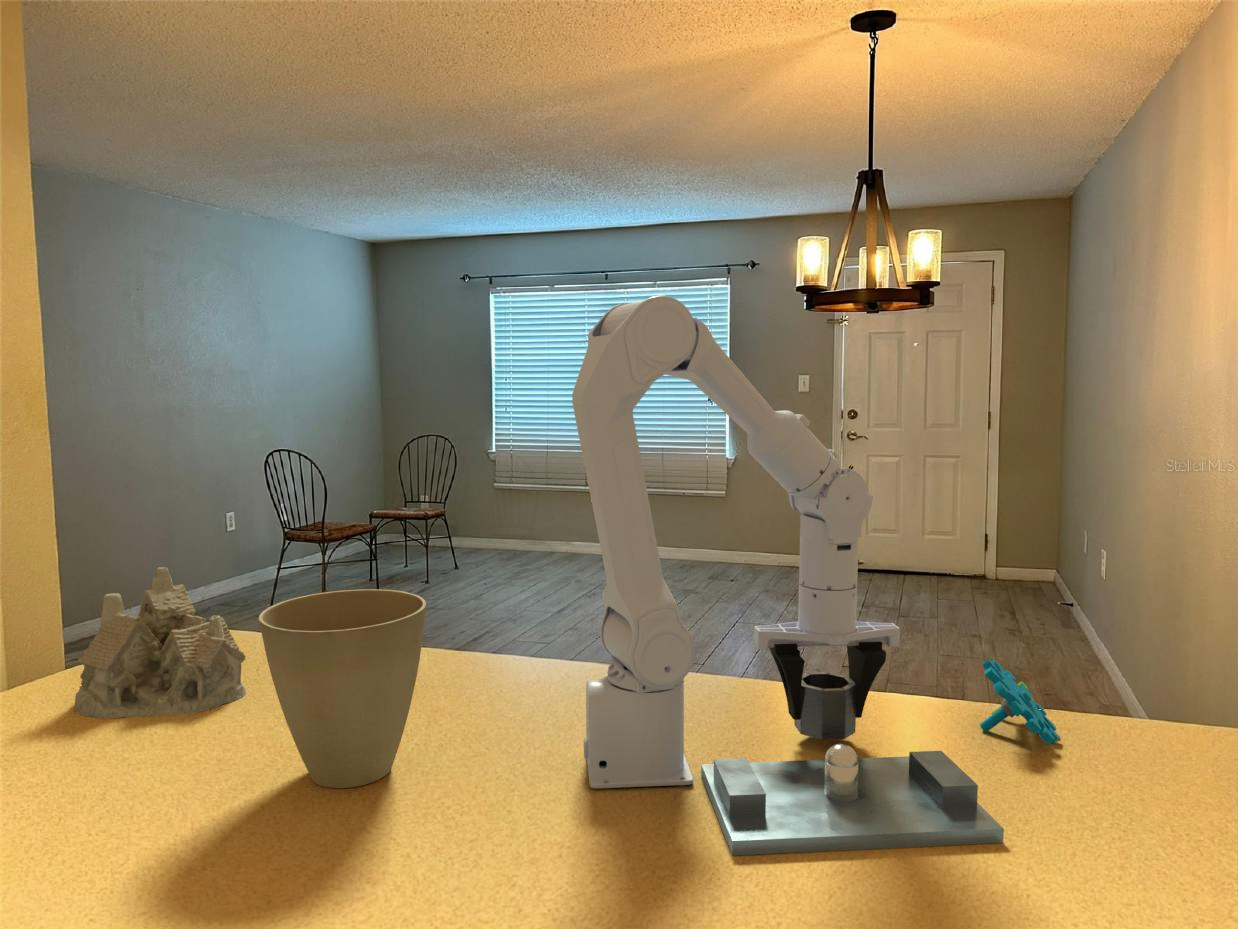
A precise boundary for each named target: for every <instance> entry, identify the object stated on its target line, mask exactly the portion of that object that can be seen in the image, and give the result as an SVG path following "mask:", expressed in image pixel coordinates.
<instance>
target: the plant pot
mask: <svg viewBox="0 0 1238 929" xmlns="http://www.w3.org/2000/svg"><path fill="white" fill-rule="evenodd" d="M426 607H427V602H426V600H425V599H424V598H423V597H422V596H420V595H418V594H414V593H411V592H407V591H403V590H394V589H373V588H372V589H370V588H369V589H367V588H364V589H363V588H362V589H361V588H360V589H347V590H335V591H327V592H319V593H313V594H308V595H303V596H298V597H294V598H290V599H287V600H284V601H280V602H278V603H276V604H273V605H271V606H269V607H267V608H266V609H264V610H262V612H261V613H260V614H259V616H258V622H259V626H260V627H259V628H260V632H261V637H262V642H263V646H264V652H265V655H266V661H267V664H268V668H269V672H270V675H271V679H272V683H273V686H274V690H275V692H276V695H277V698H278V701H279V706H280V707H281V711H282V713H283V716H284V720H285V722H286V724H287V727H288V730H289V732H290V734H291V736H292V739H293V742H294V743H295V744H294V745H295V746H296V749H297V751H298V753H299V755H300V757H301V759H302V762H303V764H304V766H305V769H306V770H307V772H308V774H309V776H310V778H311V780H312V781H313V782H314V783H315V784H317V785H318V786H321V787H325V788H329V789H349V788H356V787H362V786H365V785H369V784H372V783H374V782H376V781H378V780H380V779H382V778H384V777H385V776H387V775H388V773H390V771H392V768H393V765H394V762H395V760H396V756H397V753H398V750H399V748H400V744H401V740H402V739H403V738H402V737H403V734H404V731H405V727H406V724H407V720H408V716H409V713H410V709H411V703H412V701H413V699H412V698H413V696H414V690H415V686H416V681H417V676H418V672H419V666H420V660H421V652H422V645H423V638H424V637H423V636H424V630H425V629H424V628H425V619H426V609H427V608H426Z"/></svg>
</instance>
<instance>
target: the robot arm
mask: <svg viewBox="0 0 1238 929" xmlns="http://www.w3.org/2000/svg"><path fill="white" fill-rule="evenodd" d="M580 366H581V367H580V370H579V373H578V376H577V379H576V382H575V385H574V386H573V391H572V394H571V398H572V399H571V401H572V408H573V413H574V417H575V423H576V428H577V434H578V437H579V443H580V448H581V453H582V458H583V460H582V461H583V465H584V468H585V474H586V480H587V486H588V490H589V494H590V500H591V506H592V509H593V515H594V520H595V526H596V532H597V536H598V540H599V542H598V543H599V546H600V550H601V556H602V557H601V558H602V561H603V562H602V563H603V566H604V567H603V568H604V571H605V577H606V585H605V587H604V589H603V591H602V593H601V599H602V604H603V614H602V618H601V622H600V626H599V638H600V642H601V645H602V647H603V649H604V650H605V651H606V653H607V654H608V655H609V656H610V662H609V665H608V668H607V672H606V673H607V676H604V677H602V678H595V679H589V680H586V684H585V687H586V688H585V689H586V691H585V701H586V702H585V706H586V707H585V710H586V712H585V713H586V714H585V717H586V718H585V721H586V722H585V723H586V725H585V726H586V727H585V728H586V730H585V731H586V732H585V733H586V735H585V736H586V738H584V739H583V758H584V759H586V764H587V773H588V774H587V775H588V782H589V787H590V788H592V789H614V788H615V789H617V788H639V787H641V788H642V787H643V788H644V787H664V786H669V787H670V786H687V785H692V784H694V776H693V774H692V771H691V769H690V766H689V763H688V761H687V758H686V755H685V753H684V752H685V750H684V749H685V748H684V746H685V743H684V740H685V738H684V737H685V736H684V735H685V728H684V727H685V724H684V723H685V678H686V677H687V675H688V674H689V673H690V671H691V669H692V667H693V664H694V662H695V658H696V644H695V640H694V637H693V636H692V634H691V632H690V630H688V628H687V627H686V626H685V625H684V623H683V622H682V619H681V616H680V612H679V608H678V603H677V602H676V600H675V598H674V596H673V594H672V592H671V590H670V589H669V586H668V584H667V583H666V581H665V579H664V575H663V570H662V565H661V560H660V559H661V558H660V554H659V548H658V542H657V537H656V532H655V527H654V521H653V516H652V511H651V510H652V509H651V505H650V500H649V495H648V494H649V493H648V489H647V483H646V478H645V472H644V467H643V461H642V455H641V451H640V444H639V440H638V435H637V429H636V423H635V418H634V409H635V408H636V406H637V405H638V403H640V401H641V400H642V398H643V397H644V395H646V393H647V391H648V390H649V389H651V387H652V385H653V384H654V382H656V381H657V380H659V379H660V378H662V377H663V376H665V375H666V376H670V377H675V378H678V379H679V378H680V379H684V380H688V381H690V382H692V383H693V385H694V386H696V387H697V388H698V390H700V391H701V392H702V393H703V394H705V395H706V396H707V398H709V399H710V400H711V401H712V402H713V403H714V404H715V405H716V406H718V408H719V409H721V410H722V412H724V413H725V414H726V415H727V416H728V417H729V418H730V419H731V420H733V422H734V423H735V424H737V425H738V426H739V427H740V428H741V429H742V430H743V431H744V432H745V433H746V434H747V443H746V444H747V446H746V447H747V452H748V453H749V455H750V456H752V458H753V459H754V460H756V462H757V463H758V464H759V465H760V466H761V467H762V468H763V469H764V470H765V472H767V473H768V474H769V475H770V476H771V477H772V478H773V479H774V480H775V481H776V482H777V483H778V484H779V485H780V486H781V487H782V488H783V489H784V490H785V491H786V492H787V493H788V494H787V495H788V501H789V505H790V507H791V508H792V510H793V511H795V512H797V513H799V514H800V516H799V518H800V521H799V524H800V525H799V526H800V527H799V565H798V566H799V568H798V569H799V570H798V573H799V574H798V611H797V612H798V614H797V616H798V619H797V620H798V621H791V622H790V621H789V622H784V623H775V624H768V625H754V627H753V645H754V646H755V648H757V650H759V651H763V650H765V651H766V650H769V651H770V654H771V656H772V659H773V660H774V663H775V665H776V667H777V670H778V672H779V675H780V678H781V681H782V685H783V688H784V691H785V698H786V702H787V708H788V709H787V710H788V713H789V715H790V717H791V718H792V720H793V721H794V720H800V719H801V684H802V675H803V674H804V667H805V664H806V663H805V662H806V661H805V660H804V659H803V657H802V656H801V650H799V648H801V647H802V648H804V647H805V648H806V647H812V648H813V647H846V651H847V660H848V662H847V663H848V677H849V678H851V679H852V680H853V681H854V682H855V683H856V719H859V718H862V716H863V711H864V708H865V704H866V701H867V698H868V695H869V692H870V690H871V687H872V685H873V682H874V681H875V679H876V677H877V675H878V674H879V672H880V670H881V669H882V667H883V666H884V665H885V663H886V661H887V660H886V659H887V652H886V650H885V649H883V646H886V645H887V646H888V647H890V648H893V647H898V648H899V647H900V644H901V643H900V640H901V639H900V638H901V628H900V627H899V626H897V625H896V624H895V623H893V622H873V621H857V603H858V602H857V599H858V571H859V570H858V568H859V563H858V562H859V539H860V538H861V537H862V527H863V523H864V520H866V517H867V516H868V515H869V513H870V511H871V509H872V505H873V501H874V496H873V495H871V494H869V490H868V487H867V484H866V481H865V479H864V478H863V476H862V475H861V474H860V473H859V472H857V471H856V470H854V469H851V468H848V467H847V468H846V467H842V466H841V464H840V462H839V458H840V455H839V454H838V453H837V452H836V451H835V450H834V449H830V448H827V447H826V446H825V445H824V444H823V443H822V442H821V441H820V440H819V438H818V437H816V435H814V434H813V432H812V431H811V430H810V429H809V426H810V425H811V421H810V420H809V419H808V417H806V416H805V415H804V414H799V413H798V414H795V413H794V412H793V411H791V410H774V409H773V407H772V406H771V405H769V403H768V401H767V400H766V399H765V398H764V397H763V396H762V394H760V392H759V391H758V390H757V388H756V387H754V385H753V384H752V383H751V382H750V380H748V378H747V377H746V376H745V375H744V373H743V372H742V371H741V369H739V368H738V366H737V365H736V364H735V363H734V362H733V361H732V359H731V358H730V357H729V356H728V355H727V353H726V352H725V351H724V350H723V349H722V347H721V346H720V345H719V344H718V343H717V341H716V340H715V338H714V337H713V335H712V333H711V331H710V329H709V328H708V326H707V325H706V324H705V323H703V322H702V321H701V320H700V319H699V318H698V317H693V315H692V313H691V311H690V310H689V309H688V307H687V306H686V305H685V304H683V302H681V301H680V300H678V299H677V298H674V297H672V296H667V295H656V296H655V295H654V296H651V297H649V298H646V299H644V300H640V301H635V302H623V303H619V304H617V305H615V306H613V307H611V308H610V309H608V310H607V311H606V312H605V313H604V315H602V317H601V318H600V319H599V320H598V321H597V323H595V325H594V326H593V327H592V328H591V330H590V331H589V332H588V335H587V349H586V351H585V355H584V358H583V360H582V364H581V365H580Z"/></svg>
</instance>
